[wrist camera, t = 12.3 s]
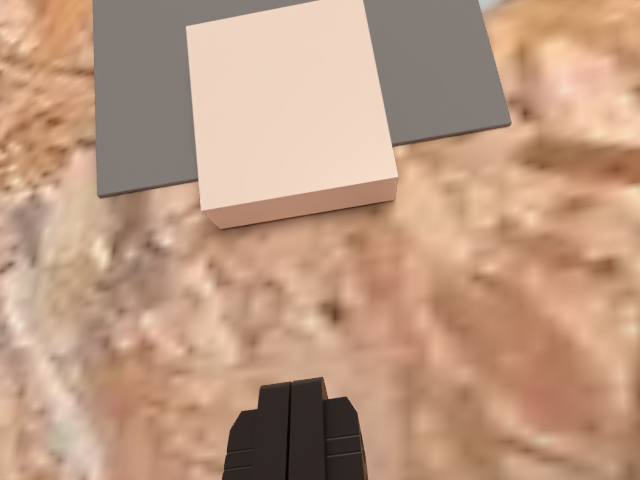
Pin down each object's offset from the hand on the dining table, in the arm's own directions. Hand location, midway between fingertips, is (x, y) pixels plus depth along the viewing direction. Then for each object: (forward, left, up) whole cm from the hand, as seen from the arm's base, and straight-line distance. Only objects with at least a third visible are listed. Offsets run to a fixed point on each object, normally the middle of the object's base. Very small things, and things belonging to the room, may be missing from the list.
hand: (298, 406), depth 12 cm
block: (+9, 0, -10) cm, 13 cm away
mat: (+20, 0, -12) cm, 23 cm away
